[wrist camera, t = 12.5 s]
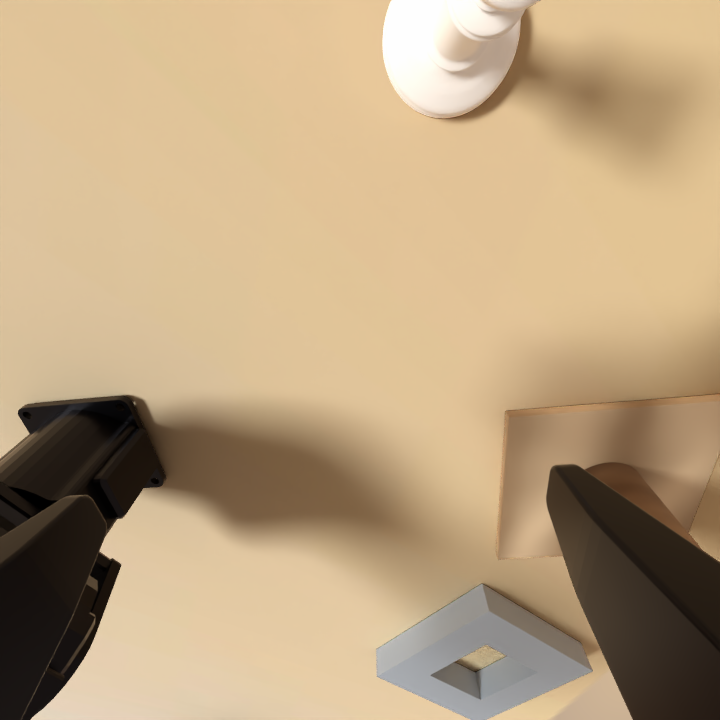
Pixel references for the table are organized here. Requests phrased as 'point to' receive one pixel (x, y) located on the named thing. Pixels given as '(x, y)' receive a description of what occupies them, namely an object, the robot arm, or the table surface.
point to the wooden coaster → (603, 459)
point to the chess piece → (450, 51)
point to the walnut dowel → (637, 493)
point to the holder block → (470, 632)
